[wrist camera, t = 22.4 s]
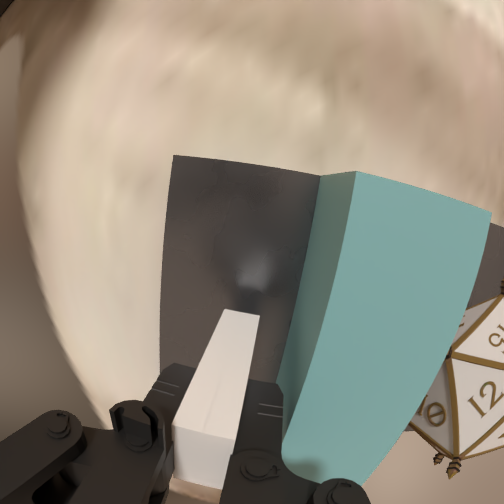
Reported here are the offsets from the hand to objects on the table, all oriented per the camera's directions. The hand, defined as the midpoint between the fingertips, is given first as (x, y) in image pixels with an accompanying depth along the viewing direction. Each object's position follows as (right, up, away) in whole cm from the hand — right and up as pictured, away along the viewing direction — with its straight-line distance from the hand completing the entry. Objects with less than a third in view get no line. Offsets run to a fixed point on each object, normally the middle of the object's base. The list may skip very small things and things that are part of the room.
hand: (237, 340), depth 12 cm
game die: (+11, -1, +1) cm, 11 cm away
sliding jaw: (+5, 0, +1) cm, 5 cm away
